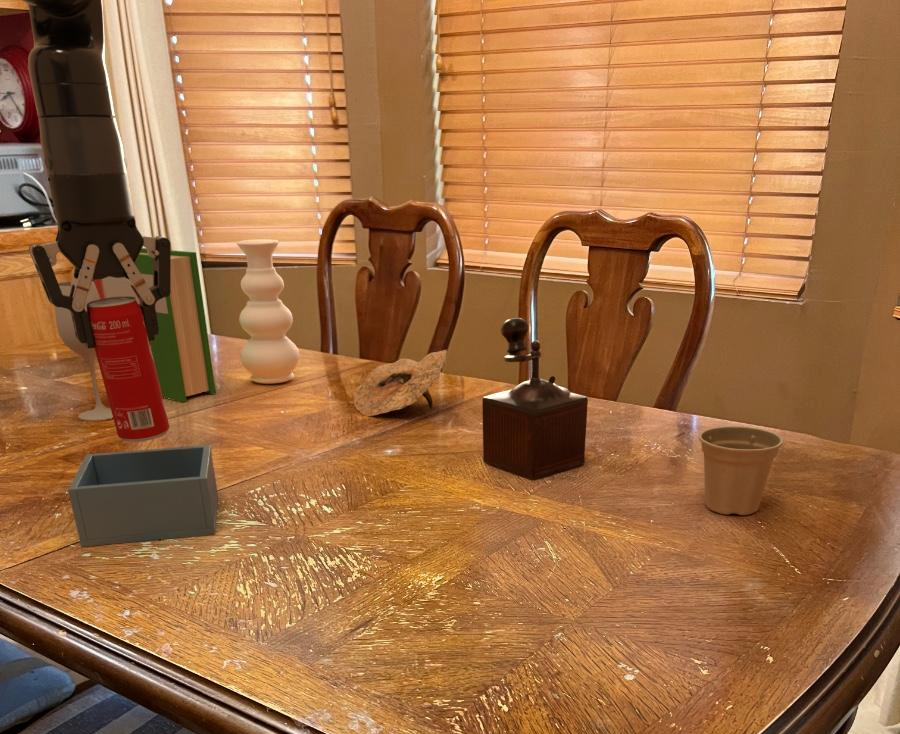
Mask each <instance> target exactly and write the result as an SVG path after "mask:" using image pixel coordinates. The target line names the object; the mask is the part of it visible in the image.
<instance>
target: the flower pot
mask: <svg viewBox="0 0 900 734" xmlns="http://www.w3.org/2000/svg"><path fill="white" fill-rule="evenodd" d="M698 440H699V442H700V443H701V451H702V454H703V470H704V472H703V473H704V504H705V507H706V508H707V509H708V510H710V511H712V512H714V513H717V514H719V515H725V516H728V515H731V514H736V515H739V516H747V515H751V514H754V513H756V512H757V511H758V510H759V509H760V506H761V501H762V498H763V495H764V491H765V488H766V484H767V481H768V478H769V474H770V472H771V468H772V465H773V462H774V459H775V458H776V457H777V455H778V453H779V450H780V448H782V446H783V445H784V438H783V437H782V436H781V435H780V434H778V433H776V432H773V431H772V430H771V431H770V430H767V429H763V428H758V427H752V426H739V425H736V426H735V425H725V426H716V427H715V426H714V427H709V428H706V429H703V430H702V431H700V432H699V433H698Z"/></svg>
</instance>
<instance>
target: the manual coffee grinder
mask: <svg viewBox="0 0 900 734" xmlns="http://www.w3.org/2000/svg"><path fill="white" fill-rule="evenodd" d="M528 332H529V324H528V322H527V320H524V319H523V318H521V317H514V318H509V319H507V320H505V321H504V322H503V323H502V324H501V326H500V333H501V335H502V336H503V337H504V338H505V340H506V342H507V343H508V346H507V350H506V352H507V353H508V354H507V355H504V362H506V363H525V362H529V361H531V377H530V379H529V380H526V381H522V382H520V383H519V384H517V385H516V386H514V387H513V388H511V389H508V390H505V391H500V392H496V393H493V394H489V395H486V396H482V403H481V404H482V405H481V406H482V454H483V457H482V460H483V462H484V463H486V464H487V465H489V466H491V467H493V468H496V469H500V470H502V471H504V472H507V473H509V474H512V475H516V476H519V477H522V478H526V479H529V480H531V481H533V480H537V479H540V478H545V477H548V476H551V475H555V474H558V473H561V472H564V471H568V470H570V469H574V468H577V467H580V466H583V465H584V464H585V463H586V458H585V453H586V440H587V439H586V438H587V423H588V405H589V404H588V403H589V398H588V396H587V395H581V394H578V393H574V392H571V391H570V390H569V389H568V388H566V387H563V386H559V385H558V384H556V383H555V382H556V376H554V375H551V376H550V377H549V379H548V380H546V379H543V378H540V366H539V365H540V358H541V357H542V352H541V351H540V349H541V343H540V341H539V340H534V341H531V342H530V349H531V351H530V352H529V353H530V354H527V355H521V354H522V353H523V352H524V351H527V349H528V347H527V346H526V344H525V338H526V336H527V333H528Z"/></svg>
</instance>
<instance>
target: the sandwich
mask: <svg viewBox="0 0 900 734" xmlns="http://www.w3.org/2000/svg"><path fill="white" fill-rule="evenodd" d="M447 350H448V349H442V350H439V351H434V352H430V353H428V354H427V355H426V356H425V357H423V358H422V359H421V360H420V361H416V360H413V359H409V358H406V357H405V358H400V359H398V360H396V361H394V362H391V363H385V364H381V365H379V366H376V367H374V369H373V370H372V371H371V372H370V373H368V375H367V376H366V378H365V379H364V381H363V382H362V384H360V385H359V386H358V387H357V389H356V390H355V392H354V394H353V396H352V398H353V400H354V401H353V402H354V403H353V405H354V407H355V409H356V410H357V411H358V412H359V413H360V414H362V415H364V416H366V417H368V416H370V417H372V416H377V415H380V414H386V413H389V412H393V411H397V410H402V409H405V408H407V407H408V406H410V405H412V404H414V403H415V402H416V401H417V400H419V398H420V397H421V396H422V397H423V398H424V399H425V400H426V402H427V405H428V408H429V410H431V409H433V405H434V401H433V397H432V395H431V393H430V391H429V389H430V388H432V387H433V385H434V384H435V383H436V382H437V381H438V379H439V378H440V375H441V371H442V369H443V367H444V364H445V361H447V358H446V356H447V354H448V351H447Z"/></svg>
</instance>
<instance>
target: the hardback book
mask: <svg viewBox="0 0 900 734" xmlns="http://www.w3.org/2000/svg"><path fill="white" fill-rule="evenodd" d="M134 264H135V265H136V267H137V268H138V270H139V272H140V273H141V275H142V276H143V278H144V280H145V283H146V284H147V286H148V288H150V287H152V286H153V258H151V257H150V256H149V255H148V253H147V249H146V248H145V247H142V249H141V251H140V253H139V255H138V257H137V259H136V261H135V263H134ZM102 283H103V289H104V294H105V298H111V297H124V296H129V297H135V298H136V301H137V303H138V304H140V301H139V299H138V298H137V296H136V294H135V293H134V291H133V290H132V288H131V287H130V285H129V284H128V283H127V281H126V280H125V278H124V277H123V278H115V277H106V278H104V279H102ZM204 307H205V306H204V299H203V291H202V285H201V278H200V272H199V265H198V258H197V252H195V251H185V250H174V249H173V250H172V249H171V293H170V295H169V296H168V297H164V298H162V299H160V300H158V301H157V302H156V304H155V309H156V315H157V321H158V327H159V331H158V335H154V337H155V340H154V341H149V342H150V346H151V350H152V355H153V359H154V363H155V367H156V371H157V376H158V380H159V384H160V388H161V393H162V397H165V398H170V399H174V400H177V401H176V402H178V401H181V402H180V403H184V402H183V401H186V402H187V397H190V396H194V395H198V394H203V393H202V392H206V393H210V394H213V393H216V394H217V392H216V385H215V378H214V370H213V364H212V356H211V348H210V341H209V334H208V327H207V322H206V321H207V320H206V313H205V308H204ZM206 393H205V394H206ZM210 394H209V395H210ZM213 395H214V394H213ZM165 398H164V399H165ZM170 399H169V400H170ZM174 400H173V401H174Z"/></svg>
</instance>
